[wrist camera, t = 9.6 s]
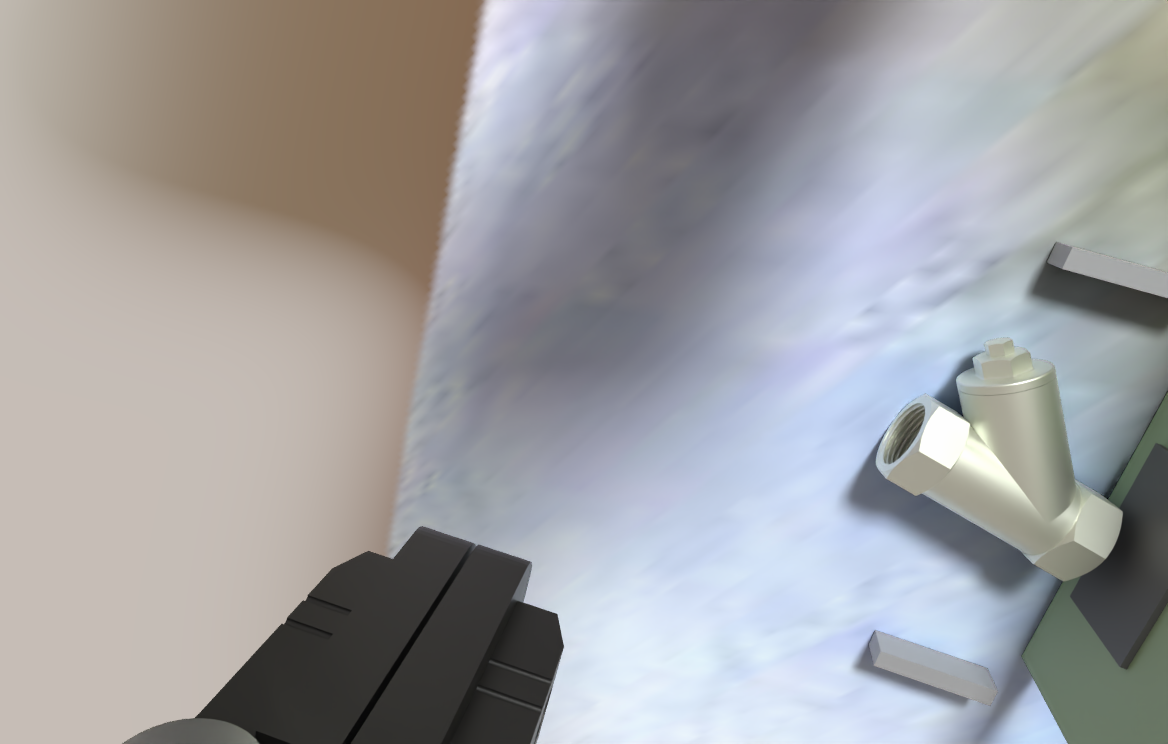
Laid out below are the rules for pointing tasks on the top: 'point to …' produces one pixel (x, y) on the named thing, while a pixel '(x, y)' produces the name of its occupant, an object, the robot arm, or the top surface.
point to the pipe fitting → (1004, 462)
